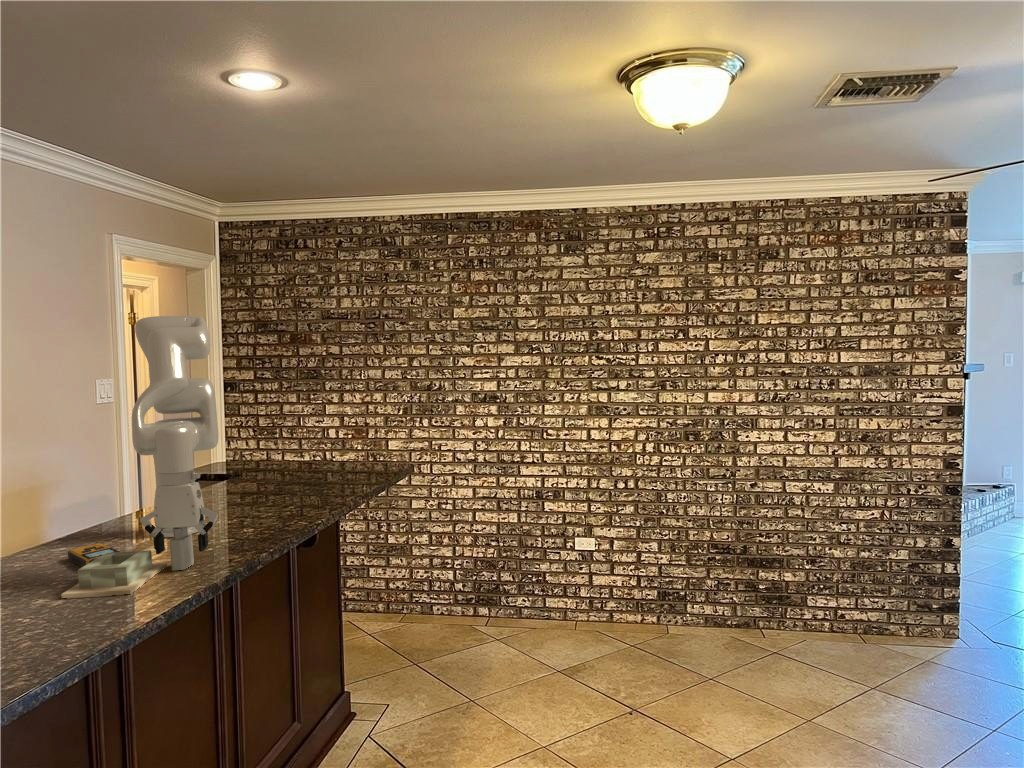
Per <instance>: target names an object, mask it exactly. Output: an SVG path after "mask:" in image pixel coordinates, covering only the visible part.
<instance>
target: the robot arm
mask: <svg viewBox="0 0 1024 768" xmlns="http://www.w3.org/2000/svg"><path fill="white" fill-rule="evenodd" d="M134 331H135V336H136V340H137V342H138V345H139V346H140V349H141V351H142V352H143V354H144V356H145V358H146V360H147V363H148V376H149V385H148V387H147V388H145V390H144V391H143V392H142V393H140V395H139V397H138V398H137V399H136V401H135V403H134V405H133V407H132V412H131V438H132V446H133V449H134V450H135V452H136V453H137V454H138V455H140V456H152V458H153V464H154V475H155V485H156V486H155V487H156V488H155V493H154V501H153V502H154V503H153V511H151V512H149V513H148V514H146V515H144V516H141V517H140V519H139V521H140V523H141V524H142V526H143V527H144V530H145V531H146V532H147V533H148V534H150V536H151V538H153V549H154V550H155V554H156V555H160V554H162V553H163V552H164V551H165V550H166V549H165V548H166V546H165V538H174V536H173V528H187V531H188V534H192V535H193V534H195V533H199V534H198V535H197V544H198V551H199V552H204V551H205V550H206V549H207V547H208V546H209V533H208V532H209V531H210V530H211V529H212V527H214V526H215V524H216V522H217V520H218V517H219V513H218V512H216V511H213V510H211V509H209V508H207V507H205V504H204V499H203V493H202V490H201V486H200V483H199V481H196V480H197V479H200V478H201V472H196V471H195V467H194V466H195V465H194V455H193V452H200V451H209V450H212V449H214V448H216V447H217V445H218V443H219V425H218V411H217V400H216V392H215V386H214V385H213V383H212V381H211V380H209V379H208V378H203V377H195V378H194V377H192V378H191V377H189V378H188V373H187V362H186V361H187V360H204V359H206V358H208V357H209V355H210V352H211V337H210V333H209V332H210V331H209V329H208V324H207V322H206V320H205V319H204V317H202V316H199V315H166V316H165V315H158V316H147V317H142V318H140V319H138V320H137V321H136V322H135V325H134ZM151 408H153V409H154V411H155V412H157V413H158V414H162V415H174V414H175V415H176V414H187V413H197V414H198V415H199V416H194V417H191V416H190V417H179V418H177V417H175V418H167V419H162V420H158V421H156V422H153V423H145V418H146V414H147V413H148V411H149V410H150V409H151ZM206 517H208V518H209V520H208V522H207V523H205V520H206ZM152 518H154V519H153V520H154V521H153V522H154V524H152V523H151V520H152Z"/></svg>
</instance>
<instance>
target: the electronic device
mask: <svg viewBox="0 0 1024 768" xmlns="http://www.w3.org/2000/svg"><path fill="white" fill-rule="evenodd" d="M112 552H121V550H120V551H119V550H117V549H116V548H113V547H111V546H108V545H106V544H104V543H101V542H99V543H94V544H89V545H86V546H85V545H84V546H81V547H77V548H76V547H75V548H72V549H70V550H68V552H67V557H68V561H69V562H71V563H73V564H74V563H75V564H74V565H76V564H77V565H76V566H78V567H80V568H82V567H84V566H85V565H87V564H89V563H90V562H92V561H94V560H95V559H97V558H99V557H100V556H102V555H104V554H105V553H112Z"/></svg>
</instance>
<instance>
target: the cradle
mask: <svg viewBox="0 0 1024 768" xmlns="http://www.w3.org/2000/svg"><path fill="white" fill-rule="evenodd" d="M152 554H153V553H152V550H151V549H150V550H149V549H148V550H133V551H120V552H112V553H105V554H104V555H102V556H100V557H99V558H97V559H95V560H94V561H92V562H90V563H89V564H87V565H85V566H84V567H80V568H78V569H77V577H78V579H77V581H78V583H76V584H75V585H73V586H72V587H70V588H68V589H67V590H66V591H64V592H63V593H61V594H60V595H61V599H62V598H67V599H79V598H82V599H83V598H97V597H113V596H112V595H116V596H125V595H124V594H131V595H133V594H134V593H135V592H136V591H138V590H139V589H140V588H142V587H143V586H144V585H145V584H144V583H145V582H147V581H148V580H149V579H150V578H152V577H153V576H154V575H155V574H157V573H158V572H159V571H160V570H162V569H163V568H165V567H166V566H167V567H168V562H155V563H153V558H152V557H153V556H152ZM167 567H166V568H167ZM166 568H165V569H166ZM162 571H163V570H162ZM157 575H158V574H157ZM153 578H154V577H153ZM153 578H152V579H153ZM149 581H150V580H149ZM149 581H148V582H149ZM148 582H147V583H148ZM143 584H144V585H143ZM142 585H143V586H142ZM141 586H142V587H141ZM139 587H140V588H139ZM138 588H139V589H138ZM137 589H138V590H137ZM134 591H135V592H134ZM133 592H134V593H133Z"/></svg>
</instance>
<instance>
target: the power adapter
mask: <svg viewBox="0 0 1024 768" xmlns="http://www.w3.org/2000/svg"><path fill="white" fill-rule="evenodd" d="M173 536H174V537H171V539H169V551H170V563H171V564H170V565H171V571H172V570H183V569H186V568H187V569H189V568H190V566H191V565H192V566H194V565H193V564H195V559H194V545H193V534H188V531H187V528H173ZM192 566H191V567H192ZM188 567H189V568H188ZM187 569H186V570H187Z"/></svg>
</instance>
